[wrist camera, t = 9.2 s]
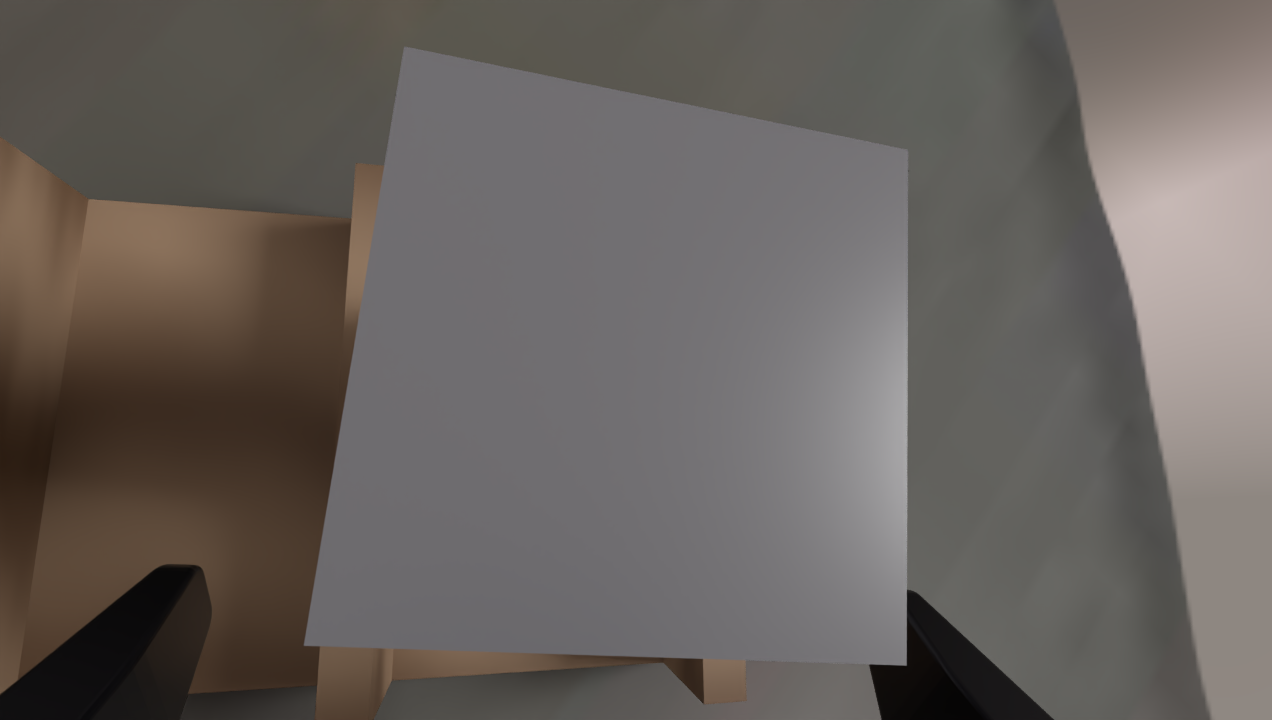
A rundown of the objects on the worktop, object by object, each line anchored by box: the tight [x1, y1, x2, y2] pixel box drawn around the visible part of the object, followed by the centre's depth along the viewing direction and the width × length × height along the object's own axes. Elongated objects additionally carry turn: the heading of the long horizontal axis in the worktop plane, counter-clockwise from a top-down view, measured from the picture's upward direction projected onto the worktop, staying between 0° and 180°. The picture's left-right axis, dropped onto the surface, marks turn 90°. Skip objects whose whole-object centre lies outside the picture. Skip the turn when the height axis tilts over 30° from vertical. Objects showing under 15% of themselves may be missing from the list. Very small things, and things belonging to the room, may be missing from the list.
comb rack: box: [0, 137, 747, 720], centre depth 15 cm, size 12×25×4 cm, turn 90°
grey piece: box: [304, 47, 908, 666], centre depth 12 cm, size 5×5×13 cm
